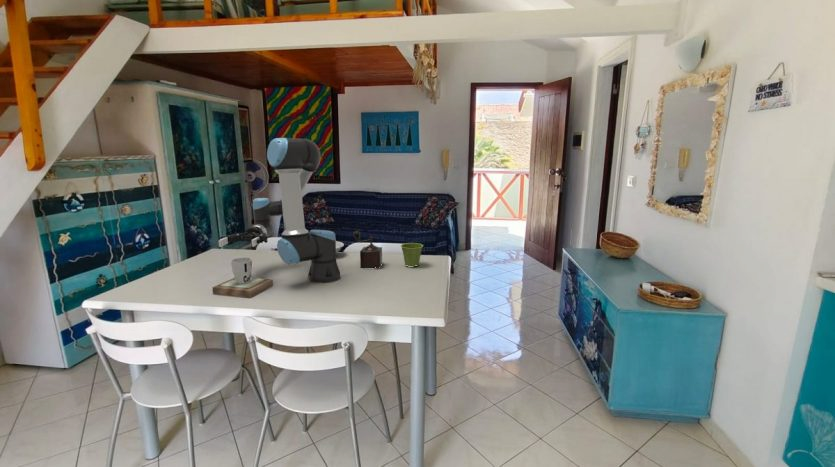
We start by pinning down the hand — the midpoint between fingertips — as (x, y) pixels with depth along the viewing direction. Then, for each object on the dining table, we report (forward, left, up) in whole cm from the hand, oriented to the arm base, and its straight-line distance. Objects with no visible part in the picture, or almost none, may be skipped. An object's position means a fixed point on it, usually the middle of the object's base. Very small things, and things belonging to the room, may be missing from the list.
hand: (236, 243), depth 164 cm
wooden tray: (0, -3, -21) cm, 21 cm away
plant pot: (-61, -58, -22) cm, 87 cm away
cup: (0, -3, -18) cm, 18 cm away
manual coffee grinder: (-38, -52, -22) cm, 68 cm away
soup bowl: (-6, -65, -22) cm, 69 cm away
